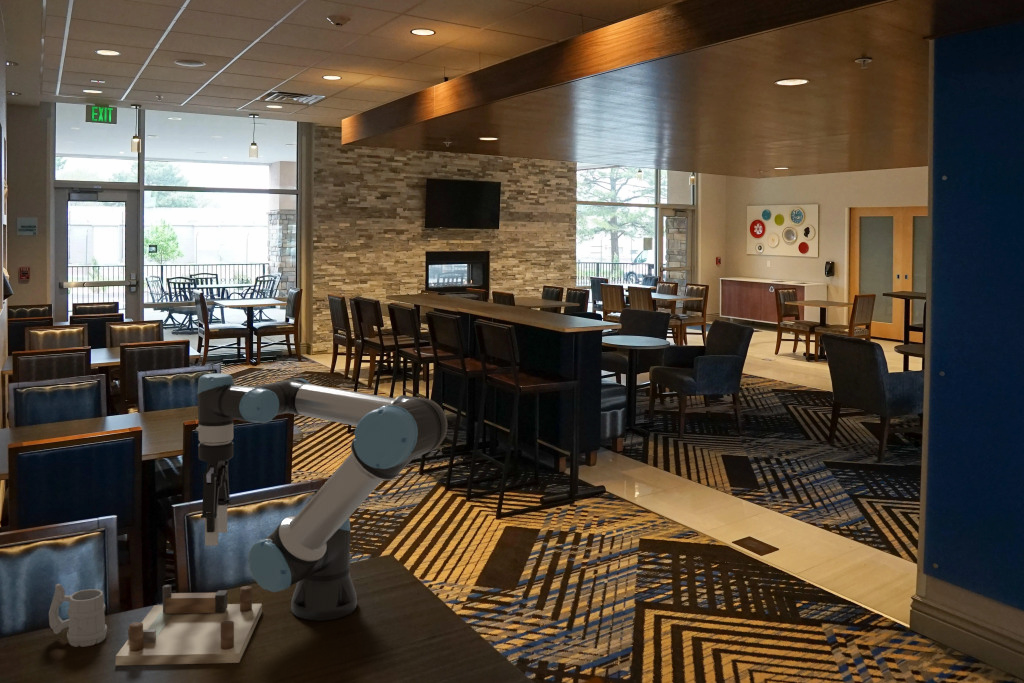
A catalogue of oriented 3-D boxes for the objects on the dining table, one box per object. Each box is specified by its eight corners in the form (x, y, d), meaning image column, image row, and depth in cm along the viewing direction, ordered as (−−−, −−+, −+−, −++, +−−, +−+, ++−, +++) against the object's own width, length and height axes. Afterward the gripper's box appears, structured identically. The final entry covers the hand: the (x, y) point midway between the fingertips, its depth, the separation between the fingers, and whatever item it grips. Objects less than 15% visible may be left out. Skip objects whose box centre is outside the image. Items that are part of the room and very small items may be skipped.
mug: (96, 648, 171) (95, 592, 169) (39, 647, 170) (38, 591, 169) (114, 631, 178) (113, 578, 177) (59, 630, 178) (57, 577, 177)
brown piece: (161, 614, 182) (160, 588, 182) (164, 608, 185) (164, 583, 185) (224, 612, 184) (224, 588, 183) (227, 607, 187) (227, 583, 186)
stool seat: (262, 611, 190) (262, 582, 190) (239, 662, 167) (239, 629, 166) (154, 613, 188) (154, 584, 187) (115, 665, 164) (115, 632, 163)
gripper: (210, 431, 196) (211, 523, 199) (185, 452, 176) (186, 554, 178) (242, 432, 197) (243, 523, 199) (221, 452, 177) (222, 554, 179)
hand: (216, 538), depth 189 cm, fingers open, 8 cm apart
